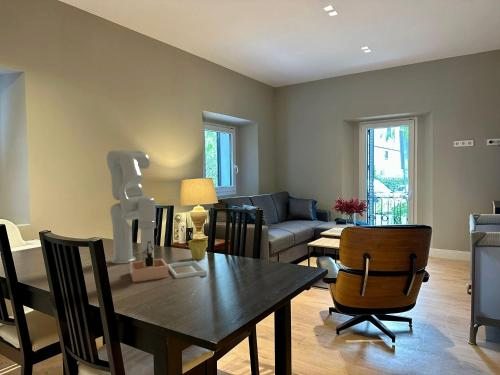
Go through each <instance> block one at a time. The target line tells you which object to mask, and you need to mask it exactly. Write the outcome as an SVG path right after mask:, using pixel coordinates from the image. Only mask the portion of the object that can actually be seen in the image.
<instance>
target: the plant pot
mask: <svg viewBox="0 0 500 375" xmlns="http://www.w3.org/2000/svg"><path fill="white" fill-rule="evenodd" d="M188 248H189V250H190V253H191V258H192V260H193V261H197V260H198V261H199V260H204V259H205V258H206V251H207V248H208V240H207V239H206V238H205V239H204V238H203V239H201V238H198V239H197V238H196V239H191V240H188Z"/></svg>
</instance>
